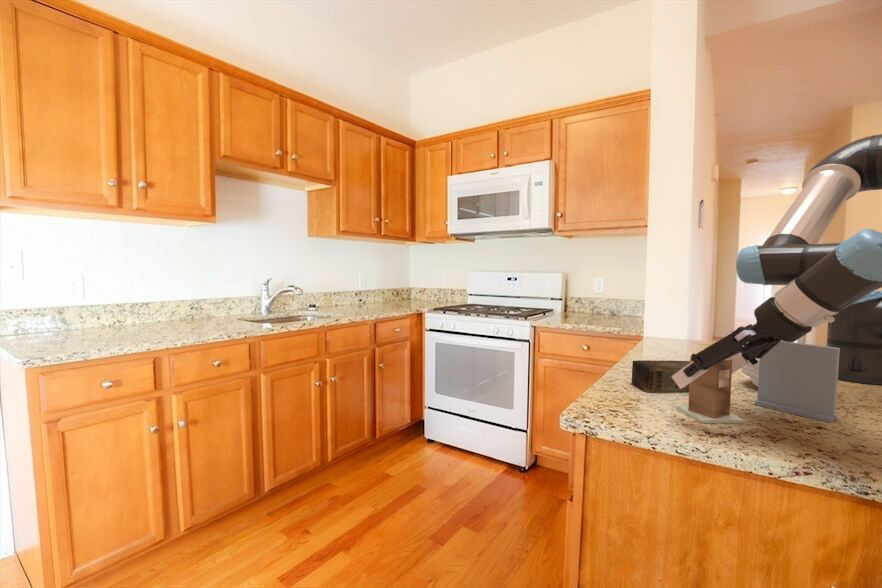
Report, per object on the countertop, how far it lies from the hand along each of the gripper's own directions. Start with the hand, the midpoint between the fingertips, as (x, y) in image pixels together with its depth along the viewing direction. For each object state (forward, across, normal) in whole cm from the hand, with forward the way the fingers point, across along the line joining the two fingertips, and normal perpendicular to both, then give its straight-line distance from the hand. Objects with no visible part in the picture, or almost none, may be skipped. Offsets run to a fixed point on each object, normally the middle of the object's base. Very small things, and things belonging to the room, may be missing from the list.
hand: (697, 378), depth 82 cm
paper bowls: (+6, +34, -4) cm, 34 cm away
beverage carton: (+14, +12, +4) cm, 19 cm away
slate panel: (-1, +18, -11) cm, 21 cm away
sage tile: (+3, 0, -7) cm, 7 cm away
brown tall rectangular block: (+3, 0, -6) cm, 7 cm away
